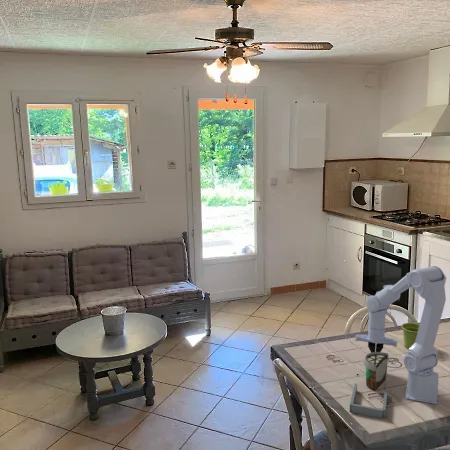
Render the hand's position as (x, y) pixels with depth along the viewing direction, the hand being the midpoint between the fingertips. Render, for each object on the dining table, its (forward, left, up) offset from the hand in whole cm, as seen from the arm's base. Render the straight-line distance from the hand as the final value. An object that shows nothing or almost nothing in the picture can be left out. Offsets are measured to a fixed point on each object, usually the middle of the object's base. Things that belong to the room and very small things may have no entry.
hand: (375, 361), depth 172 cm
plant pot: (-13, -26, -4) cm, 29 cm away
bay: (0, +24, -3) cm, 25 cm away
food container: (0, +10, -4) cm, 11 cm away
